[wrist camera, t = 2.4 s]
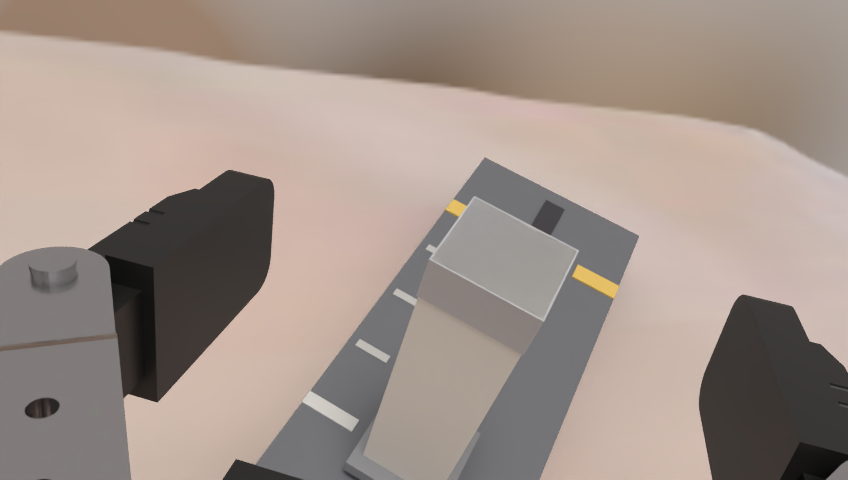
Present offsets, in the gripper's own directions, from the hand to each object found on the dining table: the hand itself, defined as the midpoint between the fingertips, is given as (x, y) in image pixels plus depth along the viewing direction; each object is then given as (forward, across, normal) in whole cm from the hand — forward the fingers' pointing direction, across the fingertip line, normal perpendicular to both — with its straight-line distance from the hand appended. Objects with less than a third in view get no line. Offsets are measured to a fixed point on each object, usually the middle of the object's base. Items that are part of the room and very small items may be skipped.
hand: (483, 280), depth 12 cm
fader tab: (+10, +2, +14) cm, 18 cm away
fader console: (+18, +1, +15) cm, 23 cm away
